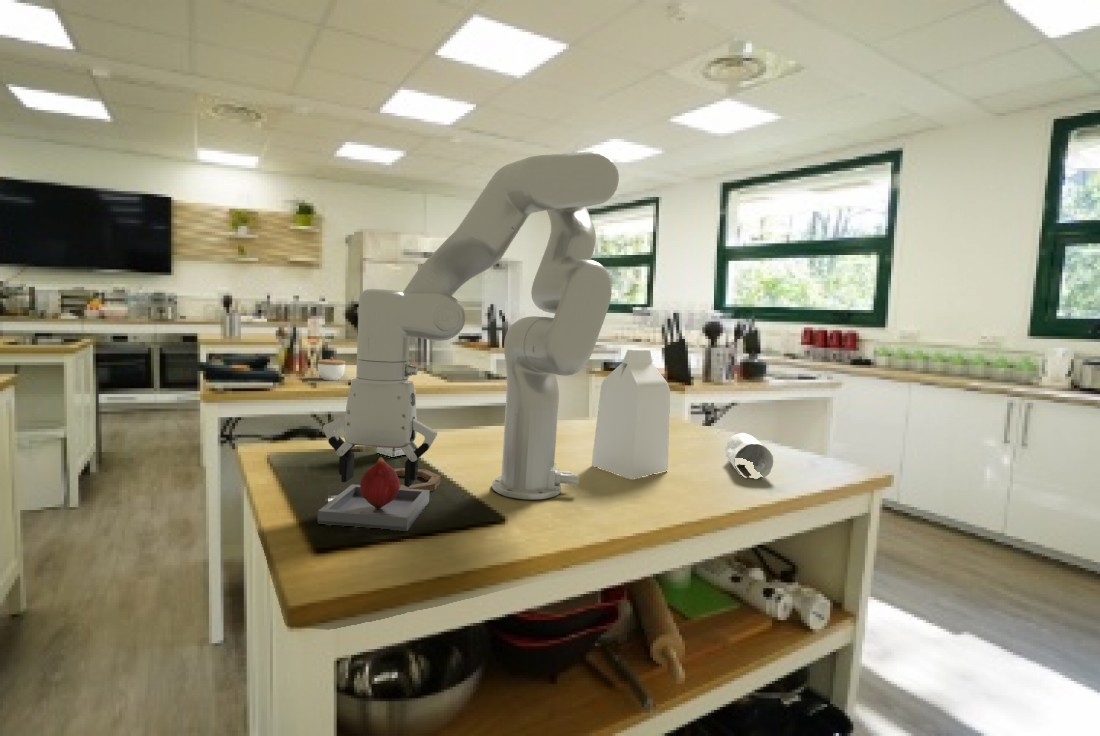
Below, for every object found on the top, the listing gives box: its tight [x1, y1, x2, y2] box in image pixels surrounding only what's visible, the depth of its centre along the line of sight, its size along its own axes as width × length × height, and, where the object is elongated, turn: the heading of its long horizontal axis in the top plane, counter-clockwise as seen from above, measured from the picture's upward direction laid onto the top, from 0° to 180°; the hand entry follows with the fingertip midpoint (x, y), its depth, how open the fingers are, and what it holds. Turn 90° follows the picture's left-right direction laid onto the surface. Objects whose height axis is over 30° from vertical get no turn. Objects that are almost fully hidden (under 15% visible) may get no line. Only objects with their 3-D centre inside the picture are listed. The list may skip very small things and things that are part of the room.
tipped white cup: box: [724, 432, 774, 478], centre depth 130 cm, size 8×19×8 cm, turn 172°
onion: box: [359, 456, 401, 509], centre depth 88 cm, size 6×6×8 cm
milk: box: [591, 349, 671, 480], centre depth 123 cm, size 12×12×26 cm
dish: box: [316, 483, 431, 532], centre depth 88 cm, size 13×13×2 cm
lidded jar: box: [317, 356, 346, 381], centre depth 234 cm, size 11×11×9 cm
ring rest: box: [393, 467, 442, 492], centre depth 103 cm, size 12×12×1 cm
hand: (378, 482), depth 88 cm, fingers open, 9 cm apart
